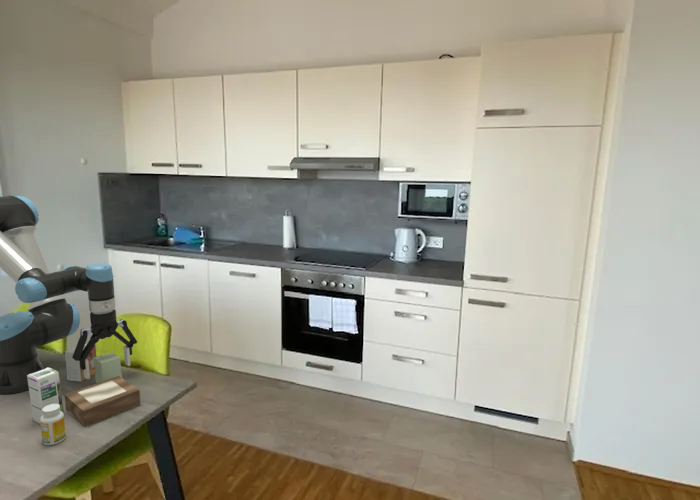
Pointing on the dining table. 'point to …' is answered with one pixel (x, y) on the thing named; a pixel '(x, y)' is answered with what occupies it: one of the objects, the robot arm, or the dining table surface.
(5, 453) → the dining table surface
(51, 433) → the supplement bottle
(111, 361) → the sage block
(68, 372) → the small box
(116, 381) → the walnut base
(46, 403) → the syrup box
